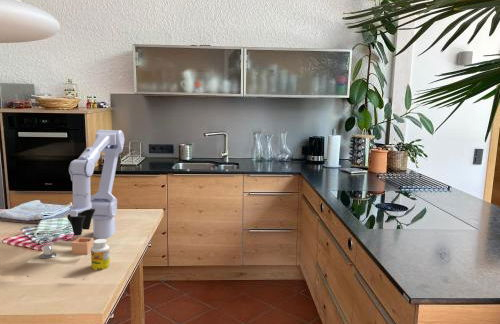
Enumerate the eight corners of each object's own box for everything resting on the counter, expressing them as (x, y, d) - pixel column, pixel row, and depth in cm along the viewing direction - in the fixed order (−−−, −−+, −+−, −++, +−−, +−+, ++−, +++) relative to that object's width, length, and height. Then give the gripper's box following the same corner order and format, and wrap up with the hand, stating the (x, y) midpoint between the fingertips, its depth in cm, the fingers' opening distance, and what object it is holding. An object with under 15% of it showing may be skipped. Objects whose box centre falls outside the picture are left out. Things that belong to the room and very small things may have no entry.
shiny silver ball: (44, 256, 136) (43, 243, 135) (59, 257, 136) (58, 243, 135) (36, 262, 131) (35, 248, 130) (51, 263, 131) (50, 249, 130)
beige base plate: (57, 244, 148) (56, 240, 147) (99, 245, 147) (98, 242, 147) (26, 267, 128) (26, 262, 128) (74, 268, 128) (74, 264, 127)
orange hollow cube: (79, 247, 141) (78, 235, 140) (93, 248, 141) (93, 236, 140) (72, 253, 136) (71, 241, 135) (87, 254, 136) (87, 241, 135)
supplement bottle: (88, 271, 126) (86, 241, 124) (102, 265, 130) (101, 236, 129) (99, 276, 123) (98, 245, 121) (113, 269, 128) (112, 239, 126)
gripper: (78, 190, 143) (78, 226, 144) (60, 197, 128) (61, 237, 129) (97, 190, 143) (97, 226, 144) (82, 197, 129) (83, 238, 130)
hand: (81, 232), depth 137 cm, fingers open, 7 cm apart
